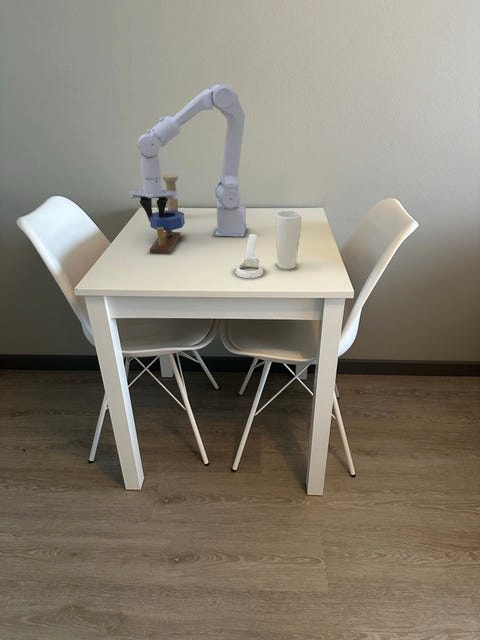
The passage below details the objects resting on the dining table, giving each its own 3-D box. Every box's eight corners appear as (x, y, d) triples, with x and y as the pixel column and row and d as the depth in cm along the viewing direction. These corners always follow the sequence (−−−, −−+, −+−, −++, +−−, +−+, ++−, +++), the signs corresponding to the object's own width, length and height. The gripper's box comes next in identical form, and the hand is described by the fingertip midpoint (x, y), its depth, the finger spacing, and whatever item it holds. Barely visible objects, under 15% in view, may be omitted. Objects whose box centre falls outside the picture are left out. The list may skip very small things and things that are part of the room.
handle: (170, 221, 166) (166, 178, 158) (164, 216, 171) (160, 174, 163) (183, 219, 168) (179, 176, 160) (176, 214, 173) (173, 172, 165)
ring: (186, 220, 152) (185, 210, 150) (180, 230, 143) (179, 220, 141) (156, 220, 153) (155, 210, 151) (148, 230, 144) (146, 219, 142)
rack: (180, 236, 152) (179, 215, 149) (169, 254, 140) (167, 231, 136) (162, 235, 153) (160, 215, 149) (150, 253, 140) (147, 231, 137)
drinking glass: (292, 273, 127) (294, 219, 119) (270, 267, 130) (271, 215, 122) (302, 264, 132) (305, 212, 124) (281, 259, 135) (283, 208, 127)
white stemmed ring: (267, 243, 132) (271, 237, 125) (259, 284, 131) (263, 280, 124) (241, 237, 131) (243, 231, 124) (233, 279, 130) (235, 275, 123)
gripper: (123, 180, 138) (130, 224, 145) (171, 180, 136) (175, 225, 143) (131, 174, 144) (136, 217, 151) (177, 175, 142) (180, 218, 149)
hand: (156, 220), depth 147 cm, fingers closed on ring, 3 cm apart
